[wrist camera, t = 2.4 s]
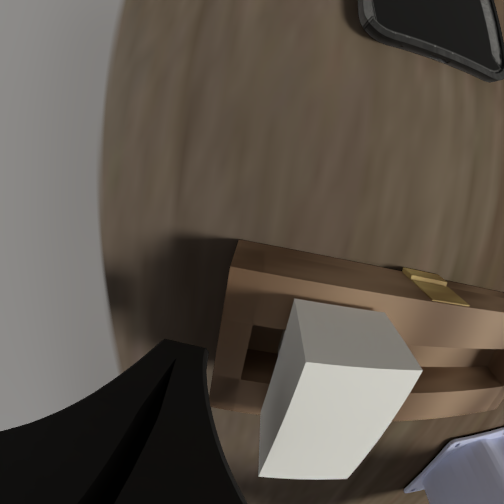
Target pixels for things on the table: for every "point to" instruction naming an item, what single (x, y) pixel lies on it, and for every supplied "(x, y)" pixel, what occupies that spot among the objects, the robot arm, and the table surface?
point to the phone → (440, 32)
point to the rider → (332, 391)
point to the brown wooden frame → (368, 298)
